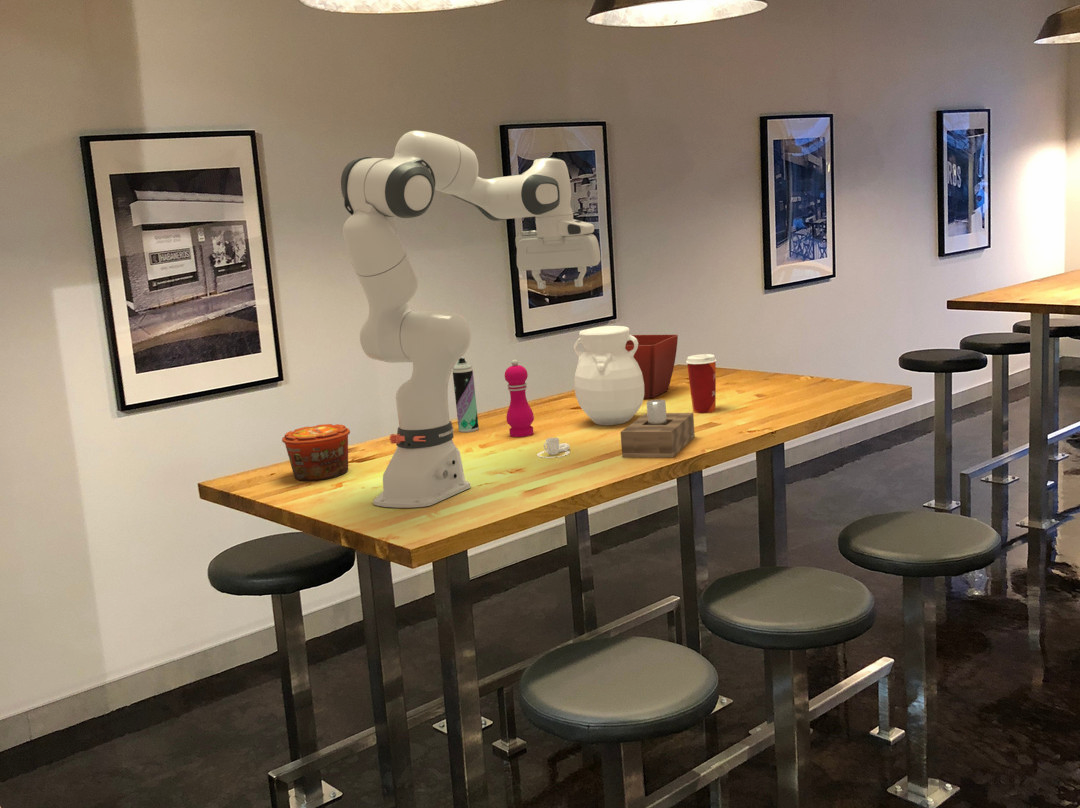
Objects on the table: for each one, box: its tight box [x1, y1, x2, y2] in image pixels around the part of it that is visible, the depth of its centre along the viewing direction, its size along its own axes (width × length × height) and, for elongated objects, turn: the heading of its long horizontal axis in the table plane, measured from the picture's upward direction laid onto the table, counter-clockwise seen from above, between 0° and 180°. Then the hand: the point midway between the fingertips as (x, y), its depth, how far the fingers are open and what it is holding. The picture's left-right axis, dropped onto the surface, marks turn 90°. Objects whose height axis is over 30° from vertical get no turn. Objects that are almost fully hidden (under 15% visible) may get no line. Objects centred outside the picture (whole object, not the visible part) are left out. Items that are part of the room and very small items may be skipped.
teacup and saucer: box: [536, 437, 571, 459], centre depth 253 cm, size 9×8×4 cm
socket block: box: [620, 412, 695, 459], centre depth 250 cm, size 20×12×6 cm, turn 157°
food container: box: [281, 423, 351, 482], centre depth 253 cm, size 16×16×11 cm
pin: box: [646, 399, 667, 425], centre depth 250 cm, size 4×4×10 cm
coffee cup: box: [685, 353, 718, 414], centre depth 285 cm, size 8×8×15 cm
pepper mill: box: [504, 359, 535, 438], centre depth 276 cm, size 7×7×20 cm
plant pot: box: [625, 334, 679, 400], centre depth 315 cm, size 19×19×17 cm
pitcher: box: [573, 325, 644, 426], centre depth 281 cm, size 19×18×25 cm
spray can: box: [452, 357, 479, 433], centre depth 287 cm, size 6×6×20 cm
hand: (560, 287), depth 250 cm, fingers open, 8 cm apart
